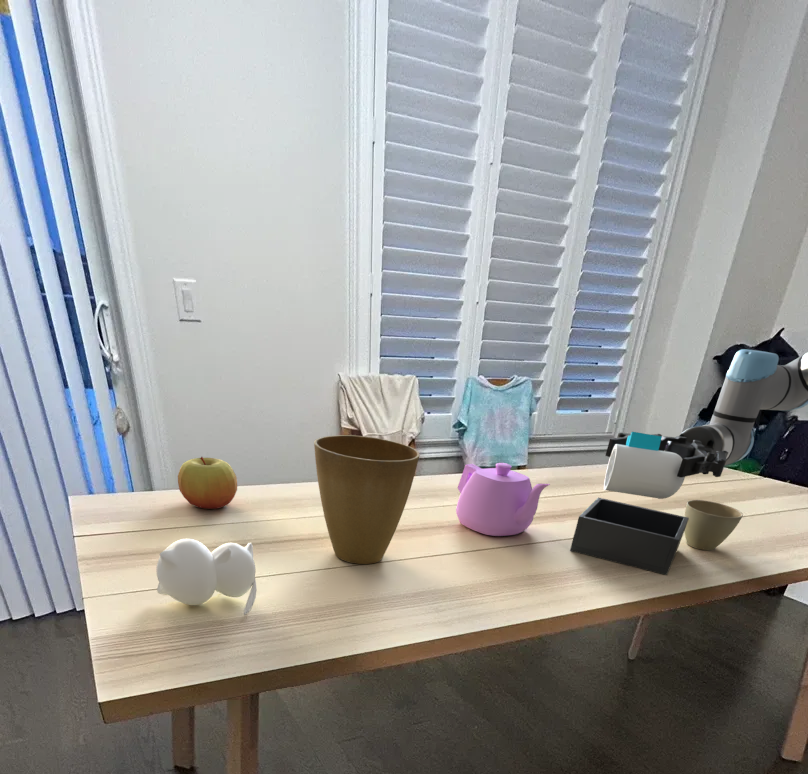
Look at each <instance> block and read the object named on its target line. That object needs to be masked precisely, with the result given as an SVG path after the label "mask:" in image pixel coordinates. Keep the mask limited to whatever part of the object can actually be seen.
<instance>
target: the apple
mask: <svg viewBox="0 0 808 774" xmlns="http://www.w3.org/2000/svg"><path fill="white" fill-rule="evenodd" d="M177 485H178V489H179V490H178V491H179V492H180V494H181V495H182V497H183V498H184V499H185V500H186V501H187V502H188V503H189V504H190V505H192V506H193V507H195V508H199V509H204V510H218V509H222V508H223V507H226V506H228V505H229V504H231V502H232V501H233V499H234V498H235V496H236V494H237V491H238V478H237V475H236V473H235V471H234V469H233V468H232V466H231V465H230V464H229V463H228V462H226V461H225V460H222V459H219V458H215V457H203V456H201V457H194V458H190V459H188V460H187V461H186V460H185V461H184V462H183V463H182V465H181V466H180V468H179V471H178V474H177Z"/></svg>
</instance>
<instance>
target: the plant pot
mask: <svg viewBox="0 0 808 774" xmlns="http://www.w3.org/2000/svg"><path fill="white" fill-rule="evenodd" d="M313 446H314V447H313V448H314V460H315V468H316V477H317V484H318V490H319V496H320V502H321V506H322V512H323V516H324V520H325V525H326V529H327V534H328V536H329V539H330V543H331V546H332V549H333V552H334V555H335V556H336V557H337V558H338V559H340V560H341V561H344V562H347V563H350V564H358V565H371V564H376V563H379V562H380V561H382V559H383V558H384V555H385V554H386V552H387V550H388V547H389V546H390V543H391V542H392V539H393V537H394V535H395V533H396V531H397V528H398V526H399V524H400V520H401V518H402V516H403V513H404V510H405V508H406V504H407V502H408V498H409V496H410V492H411V489H412V485H413V483H414V478H415V475H416V471H417V467H418V464H419V459H420V456H421V454H420V452H419V451H418V450H417V449H415V448H414V447H412V446H410V445H406V444H404V443H401V442H397V441H394V440H389V439H384V438H379V437H372V436H363V435H351V434H342V435H339V434H338V435H337V434H336V435H327V436H321V437H318V438H316V439H315V440H314V441H313Z"/></svg>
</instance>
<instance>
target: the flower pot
mask: <svg viewBox="0 0 808 774" xmlns="http://www.w3.org/2000/svg"><path fill="white" fill-rule="evenodd" d="M683 514H684V515H683V517H688V518H689V519H688V522H687V525H686V528H685V530H684V538H685V542H686V544H687V545H688V546H690V547H692V548H694V549H697V550H701V551H713V550H715V549H716V548H717V547H719V546H720V545H721V544H722V543H723V542H724V541H725V540H726V539H727V538H728V537H729V536H731V533H733V532H734V531H735V529H736V528H737V526H738V525H739V524H740V522H741V520H742V518H743V516H744V514H743V512H742V511H740V510H739V509H736V508H734V507H732V506H729V505H728V504H727V505H726V504H723V503H720V502H715V501H711V500H703V499H691V500H688V501H687V502H686V504H685V509H684V513H683Z"/></svg>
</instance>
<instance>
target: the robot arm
mask: <svg viewBox="0 0 808 774" xmlns="http://www.w3.org/2000/svg"><path fill="white" fill-rule="evenodd" d="M779 361H780V357H779V355H778V354H777V353H775V352H768V351H764V350H763V351H762V350H756V349H746V348H743V349H739V350H737V351H736V353H735V354H734V356H733V358H732V361H731V363H730V365H729V369H728V370H727V372H726V373H725V377H724V381H723V385H722V387H721V389H720V393H719V396H718V399H717V402H716V404H715V408H714V410H713V414H712V416H711V418H710V421H709V424H704V425H696V426H691V427H689V428H687V429H685V430H683V432H681V433H680V434H679V435H677V436H665V435H663V434H661V433H654V434H653V433H651V435H656V436H662V438H661V442H660V446H659V450H660V451H666V452H673V453H676V454H678V455H679V456H680V457H681V458H682V462H681V465H680V468H679V471H678V474H677V477H681V478H682V477H685V478H686V477H689V476H695V475H700V474H702V475H709V474H710V473H712V476H714V477H715V478H720V477H722V474H723V470H724V468H725V466H730V465H733V464H735V463H737V462H739V461H741V460H743V459H744V458H745V457H747V456H748V455H749V453H750V452H751V451H752V448H753V446H754V442H755V434H754V431H753V428H754V425H755V423H756V419H757V417H758V415H759V413H760V411H761V410H765V411H781V412H790V411H794V410H795V411H796V410H800V409H802V408H804V407H805V406H808V351H807V352H806V353H803V354H802V355H801V356H799V357H797V358H796V359H793V360H792V361H790V362H788V363H787V364H783V365H781V364H779ZM629 435H631V432H630V433H627V432H618V433H617V435H616V437H615V438H614V437H613V438H609V441H608V445H607V448H606V452H605V457H607V458H610V456H611V453H612V450H613V448H614V446H615V444H619V445H626V442H627V438H628V436H629Z"/></svg>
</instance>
